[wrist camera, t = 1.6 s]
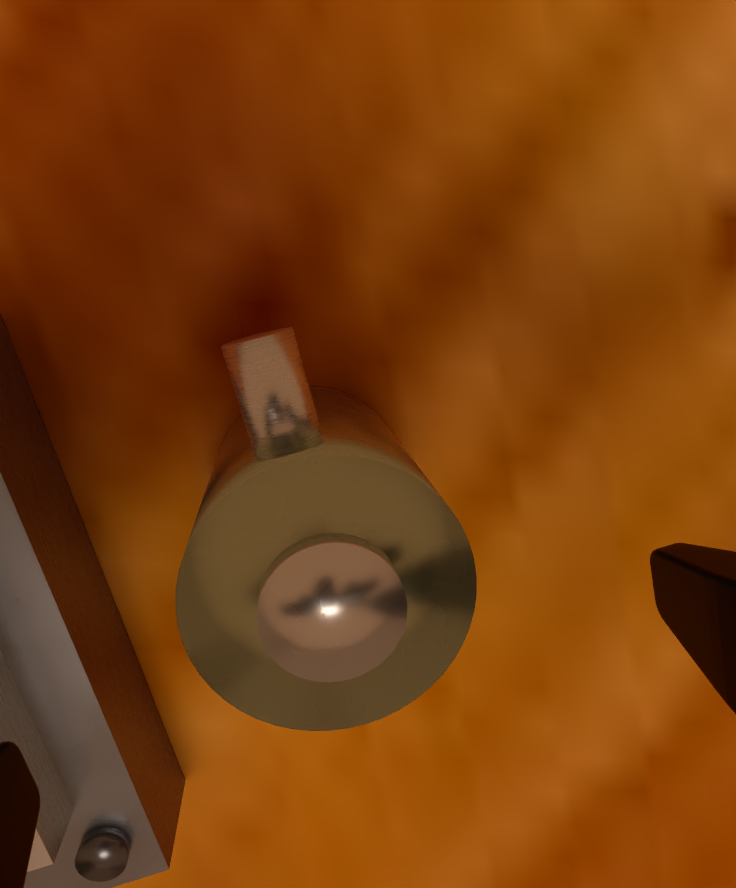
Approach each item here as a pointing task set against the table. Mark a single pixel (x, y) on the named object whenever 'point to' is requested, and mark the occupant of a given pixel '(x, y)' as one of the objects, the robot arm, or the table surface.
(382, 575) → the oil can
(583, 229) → the table surface
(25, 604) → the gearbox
